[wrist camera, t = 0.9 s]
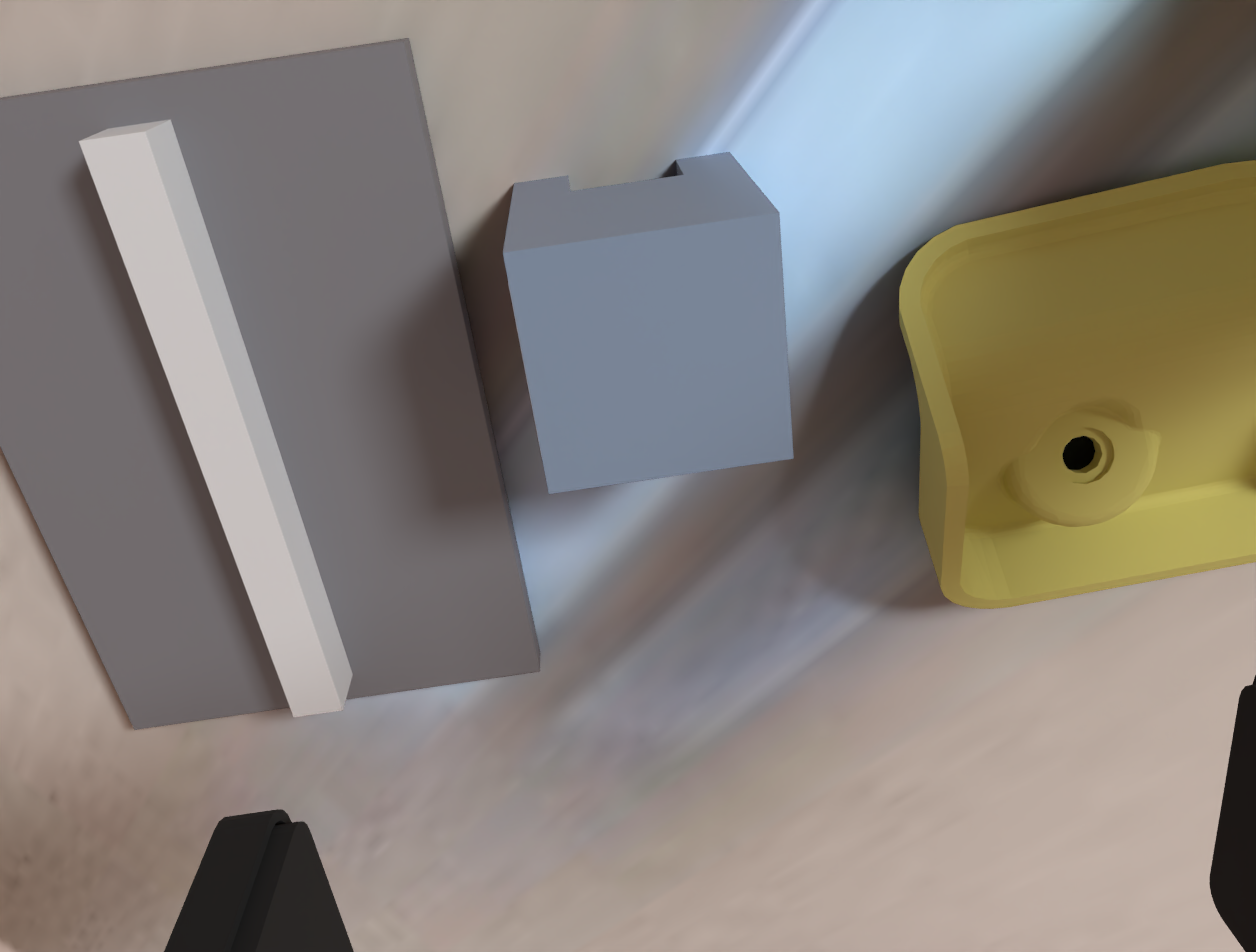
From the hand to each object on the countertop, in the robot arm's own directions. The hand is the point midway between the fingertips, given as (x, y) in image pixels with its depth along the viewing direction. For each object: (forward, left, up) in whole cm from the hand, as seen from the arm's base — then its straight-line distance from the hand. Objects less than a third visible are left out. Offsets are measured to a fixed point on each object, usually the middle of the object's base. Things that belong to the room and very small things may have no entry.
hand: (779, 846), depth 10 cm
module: (+1, 0, -22) cm, 22 cm away
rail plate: (+4, -12, -21) cm, 25 cm away
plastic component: (+6, +17, -22) cm, 29 cm away
